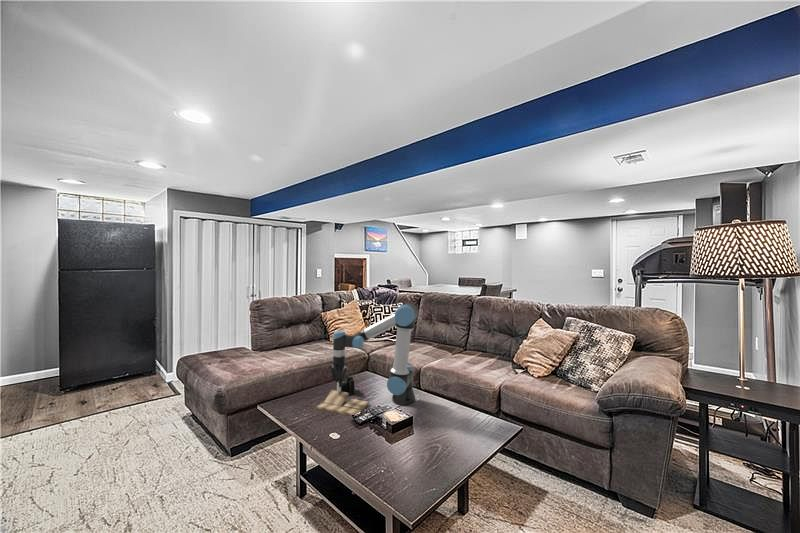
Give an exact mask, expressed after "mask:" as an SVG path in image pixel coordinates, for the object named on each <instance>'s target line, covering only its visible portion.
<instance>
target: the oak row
mask: <svg viewBox="0 0 800 533" xmlns="http://www.w3.org/2000/svg"><path fill="white" fill-rule="evenodd" d="M316 409H317V410H322V411H326V412H330V413H331V412H332V413H336V414H340V415H346V416H351V417H353V416H352V415H354V414H357V413H359V412H361V411H362V412H363V410H359V409H354V408H349V407H344V405H342V406H338V405H333V404H328V403H324V401H322V402H321V403H320V404H319V403H318V405H316Z"/></svg>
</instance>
